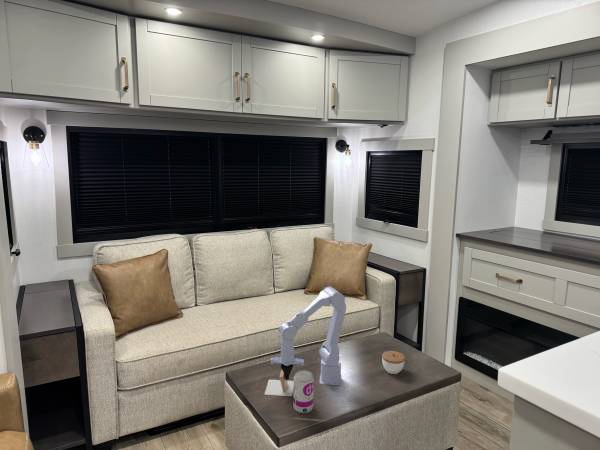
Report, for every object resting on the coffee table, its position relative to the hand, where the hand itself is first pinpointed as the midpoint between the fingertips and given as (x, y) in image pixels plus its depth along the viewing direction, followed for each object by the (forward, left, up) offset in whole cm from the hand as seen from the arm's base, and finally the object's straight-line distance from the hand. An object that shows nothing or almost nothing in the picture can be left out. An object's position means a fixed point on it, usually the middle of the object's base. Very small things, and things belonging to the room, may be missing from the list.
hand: (287, 378), depth 181 cm
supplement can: (-8, +13, -5) cm, 16 cm away
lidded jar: (-49, -21, -5) cm, 54 cm away
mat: (+3, 0, -5) cm, 6 cm away
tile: (+1, 0, -4) cm, 4 cm away
